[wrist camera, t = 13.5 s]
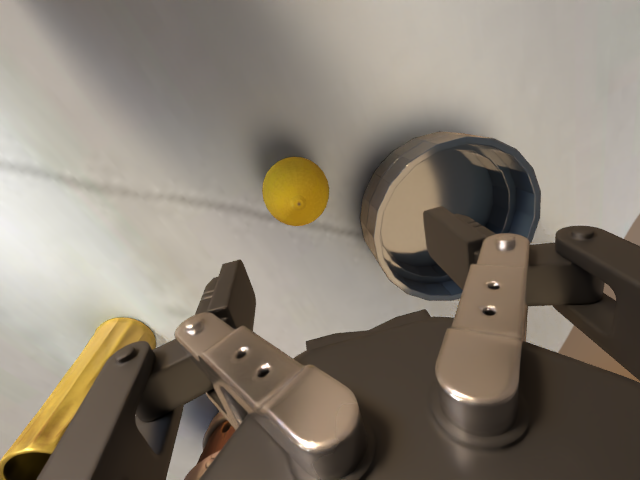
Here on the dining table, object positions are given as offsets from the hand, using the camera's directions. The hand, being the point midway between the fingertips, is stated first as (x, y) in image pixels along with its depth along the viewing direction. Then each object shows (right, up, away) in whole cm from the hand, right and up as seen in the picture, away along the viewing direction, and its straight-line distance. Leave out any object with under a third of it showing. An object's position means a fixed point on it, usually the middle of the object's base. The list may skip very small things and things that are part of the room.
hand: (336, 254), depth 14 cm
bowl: (+11, +4, +20) cm, 23 cm away
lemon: (-3, +6, +17) cm, 19 cm away
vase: (-22, -10, +22) cm, 32 cm away
